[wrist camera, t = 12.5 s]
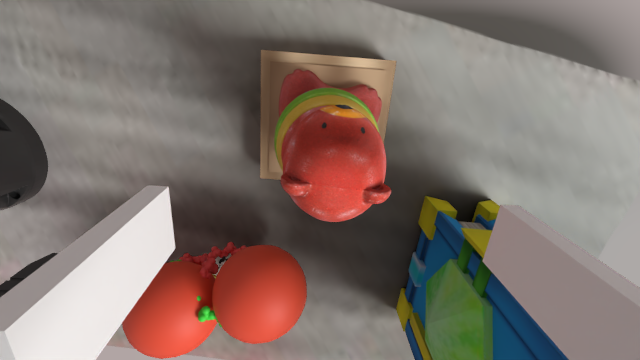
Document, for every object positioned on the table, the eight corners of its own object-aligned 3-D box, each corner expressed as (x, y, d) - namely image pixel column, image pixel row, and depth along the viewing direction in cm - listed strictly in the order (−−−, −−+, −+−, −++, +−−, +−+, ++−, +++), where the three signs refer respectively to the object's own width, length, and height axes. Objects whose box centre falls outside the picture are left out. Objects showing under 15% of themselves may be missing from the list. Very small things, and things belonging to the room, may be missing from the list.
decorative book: (509, 194, 42) (910, 461, 14) (462, 322, 50) (655, 652, 22) (408, 185, 41) (617, 448, 13) (378, 316, 49) (465, 652, 21)
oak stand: (265, 167, 39) (259, 179, 35) (266, 51, 34) (260, 49, 30) (371, 174, 40) (377, 186, 36) (387, 61, 35) (397, 60, 31)
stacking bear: (385, 90, 32) (464, 118, 16) (358, 176, 36) (399, 275, 19) (286, 64, 31) (255, 64, 14) (268, 156, 34) (227, 242, 18)
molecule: (293, 197, 41) (283, 269, 27) (316, 261, 45) (318, 354, 31) (126, 244, 43) (34, 334, 29) (162, 301, 47) (96, 406, 33)
